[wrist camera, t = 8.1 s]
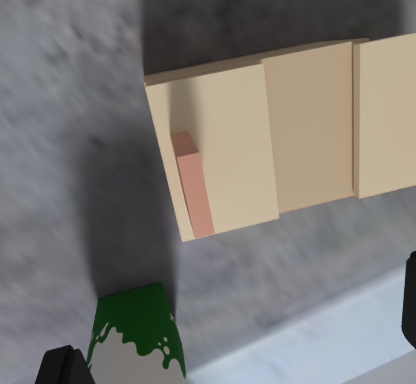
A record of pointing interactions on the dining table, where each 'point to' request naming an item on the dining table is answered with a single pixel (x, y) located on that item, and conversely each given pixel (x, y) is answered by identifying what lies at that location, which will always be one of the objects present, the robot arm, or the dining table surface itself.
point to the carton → (302, 117)
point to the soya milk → (136, 339)
